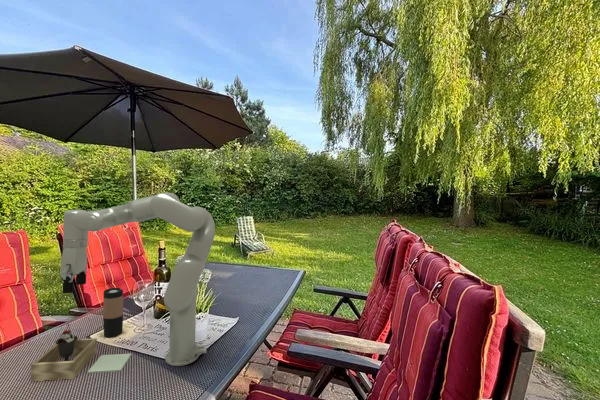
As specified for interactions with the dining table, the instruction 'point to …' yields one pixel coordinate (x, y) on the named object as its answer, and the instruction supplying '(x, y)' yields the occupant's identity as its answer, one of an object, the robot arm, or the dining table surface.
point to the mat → (110, 363)
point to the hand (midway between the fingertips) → (74, 288)
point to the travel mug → (113, 312)
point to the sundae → (66, 344)
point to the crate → (63, 362)
